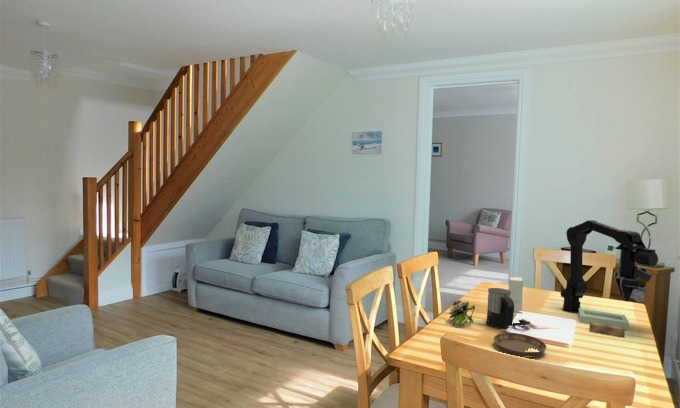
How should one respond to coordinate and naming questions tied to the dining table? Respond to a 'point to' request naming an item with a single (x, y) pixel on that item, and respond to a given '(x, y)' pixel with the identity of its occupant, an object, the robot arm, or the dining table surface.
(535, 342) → the plant saucer
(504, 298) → the milk frother
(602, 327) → the walnut peg
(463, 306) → the green leafy plant
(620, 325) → the sage cradle
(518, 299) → the skincare box
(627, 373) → the dining table surface
